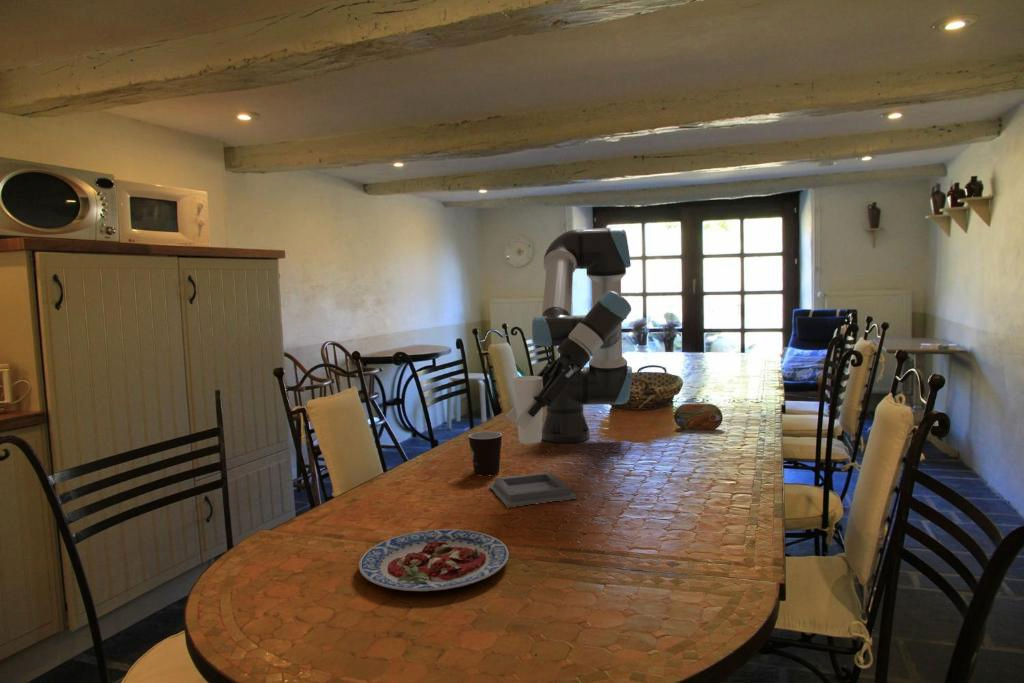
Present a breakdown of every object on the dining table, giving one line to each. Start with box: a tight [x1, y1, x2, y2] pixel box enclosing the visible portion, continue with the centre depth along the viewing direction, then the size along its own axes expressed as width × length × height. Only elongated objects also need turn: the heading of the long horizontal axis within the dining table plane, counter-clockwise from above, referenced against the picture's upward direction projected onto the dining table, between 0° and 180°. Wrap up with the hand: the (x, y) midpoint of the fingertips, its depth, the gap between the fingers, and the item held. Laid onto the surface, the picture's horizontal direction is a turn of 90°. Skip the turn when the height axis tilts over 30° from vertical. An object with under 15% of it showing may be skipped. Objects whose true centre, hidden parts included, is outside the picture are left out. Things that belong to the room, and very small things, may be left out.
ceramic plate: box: [358, 528, 510, 592], centre depth 117 cm, size 26×26×3 cm
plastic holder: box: [489, 471, 577, 508], centre depth 156 cm, size 16×16×2 cm
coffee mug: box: [468, 431, 503, 477], centre depth 176 cm, size 12×9×10 cm
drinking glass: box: [513, 375, 544, 445], centre depth 154 cm, size 7×7×15 cm
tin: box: [673, 403, 724, 431], centre depth 217 cm, size 15×3×8 cm, turn 73°
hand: (514, 422), depth 154 cm, fingers closed on drinking glass, 6 cm apart
